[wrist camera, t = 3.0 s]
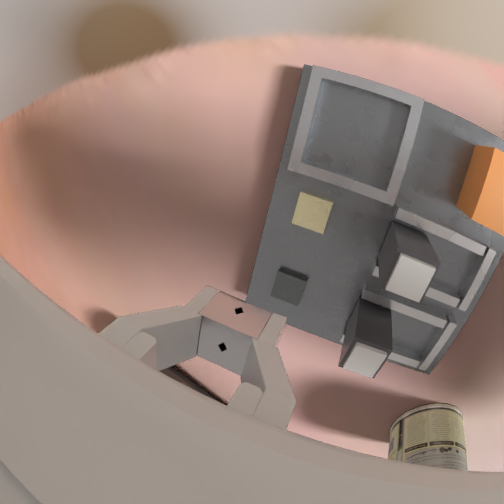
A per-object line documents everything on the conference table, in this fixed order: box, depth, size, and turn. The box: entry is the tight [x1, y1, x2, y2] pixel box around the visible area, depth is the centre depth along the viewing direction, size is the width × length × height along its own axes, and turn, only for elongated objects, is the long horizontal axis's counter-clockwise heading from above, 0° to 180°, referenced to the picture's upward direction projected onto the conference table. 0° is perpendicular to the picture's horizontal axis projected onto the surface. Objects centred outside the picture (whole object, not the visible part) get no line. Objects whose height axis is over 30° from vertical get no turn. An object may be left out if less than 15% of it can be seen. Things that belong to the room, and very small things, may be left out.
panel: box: [245, 64, 504, 374], centre depth 22 cm, size 20×22×3 cm
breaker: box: [338, 298, 393, 378], centre depth 22 cm, size 3×3×6 cm
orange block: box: [456, 145, 504, 236], centre depth 15 cm, size 5×5×4 cm
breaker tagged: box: [378, 221, 441, 305], centre depth 18 cm, size 3×3×6 cm
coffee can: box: [388, 403, 468, 471], centre depth 23 cm, size 10×10×14 cm
